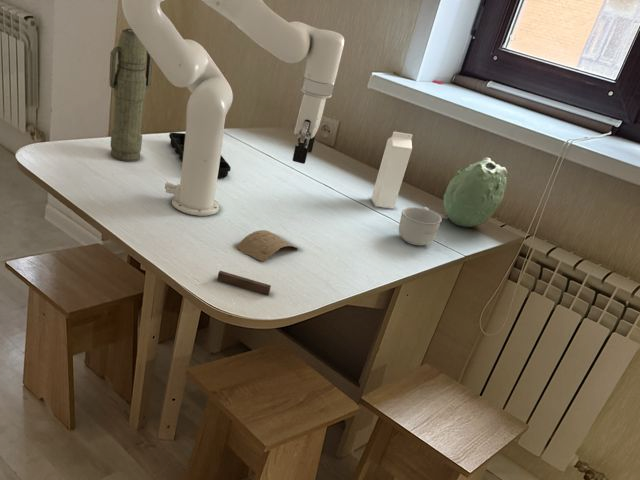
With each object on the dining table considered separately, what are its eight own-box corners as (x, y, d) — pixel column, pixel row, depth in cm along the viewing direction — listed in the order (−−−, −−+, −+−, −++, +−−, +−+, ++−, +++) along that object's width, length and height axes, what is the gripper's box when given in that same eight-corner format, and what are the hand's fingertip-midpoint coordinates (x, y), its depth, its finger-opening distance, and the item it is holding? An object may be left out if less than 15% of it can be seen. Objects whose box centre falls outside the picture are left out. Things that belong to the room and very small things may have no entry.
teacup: (424, 253, 183) (433, 226, 179) (388, 238, 187) (396, 212, 183) (441, 239, 194) (450, 213, 189) (406, 225, 197) (415, 199, 193)
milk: (393, 209, 206) (416, 138, 194) (374, 206, 205) (396, 134, 193) (389, 201, 211) (410, 131, 199) (370, 198, 210) (390, 128, 198)
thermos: (150, 160, 204) (161, 35, 184) (115, 163, 197) (122, 34, 178) (135, 149, 209) (144, 27, 190) (100, 152, 202) (106, 25, 183)
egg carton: (200, 142, 225) (201, 131, 223) (246, 178, 205) (248, 166, 203) (151, 144, 216) (152, 132, 214) (194, 181, 196) (196, 169, 194)
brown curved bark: (264, 264, 162) (266, 253, 160) (234, 246, 167) (235, 236, 165) (301, 250, 172) (303, 240, 170) (272, 234, 176) (273, 224, 175)
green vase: (424, 218, 204) (446, 154, 193) (458, 209, 216) (480, 148, 205) (467, 241, 196) (493, 175, 184) (500, 230, 208) (526, 167, 196)
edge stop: (217, 280, 151) (218, 272, 150) (218, 278, 152) (220, 270, 151) (268, 295, 150) (269, 287, 149) (269, 293, 151) (271, 285, 150)
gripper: (308, 76, 169) (294, 143, 179) (295, 90, 155) (280, 162, 165) (337, 83, 169) (321, 150, 178) (327, 98, 154) (310, 170, 164)
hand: (302, 156), depth 171 cm, fingers open, 9 cm apart
